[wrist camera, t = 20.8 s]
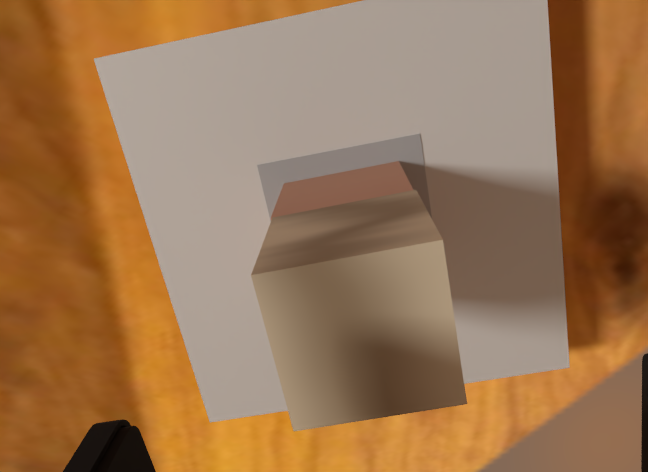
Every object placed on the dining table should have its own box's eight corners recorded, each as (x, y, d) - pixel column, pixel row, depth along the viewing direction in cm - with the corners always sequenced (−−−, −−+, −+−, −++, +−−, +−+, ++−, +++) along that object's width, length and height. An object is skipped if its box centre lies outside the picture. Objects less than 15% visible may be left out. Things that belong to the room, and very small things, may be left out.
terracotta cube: (398, 160, 23) (413, 191, 19) (416, 267, 25) (434, 320, 20) (283, 183, 24) (270, 218, 19) (308, 286, 25) (301, 342, 21)
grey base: (519, -29, 24) (545, -39, 21) (547, 336, 29) (569, 368, 26) (121, 57, 25) (93, 58, 22) (221, 387, 31) (209, 423, 28)
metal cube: (416, 189, 19) (443, 239, 14) (436, 319, 20) (466, 404, 15) (272, 217, 19) (250, 275, 14) (303, 342, 21) (293, 431, 16)
